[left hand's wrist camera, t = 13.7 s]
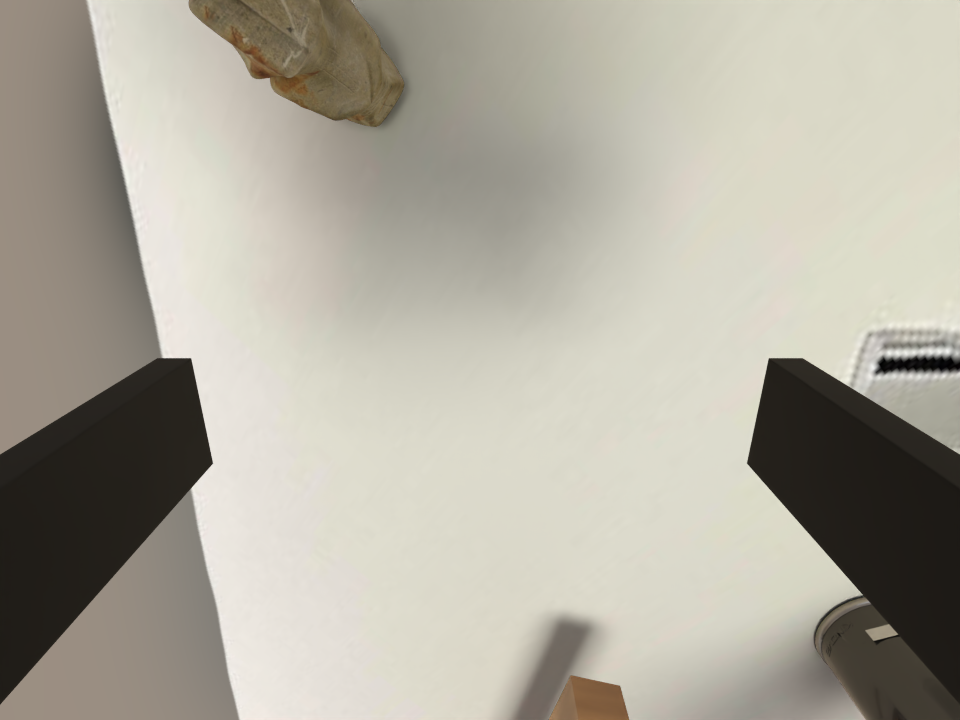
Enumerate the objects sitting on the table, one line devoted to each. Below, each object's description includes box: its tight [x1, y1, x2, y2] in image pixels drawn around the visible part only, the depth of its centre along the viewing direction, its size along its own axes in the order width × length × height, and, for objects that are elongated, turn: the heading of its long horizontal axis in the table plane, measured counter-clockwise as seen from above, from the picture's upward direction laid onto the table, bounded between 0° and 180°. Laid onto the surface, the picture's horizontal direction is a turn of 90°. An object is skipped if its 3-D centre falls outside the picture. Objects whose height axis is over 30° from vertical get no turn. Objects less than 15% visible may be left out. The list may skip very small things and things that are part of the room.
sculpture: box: [189, 0, 404, 127], centre depth 28 cm, size 6×7×15 cm
